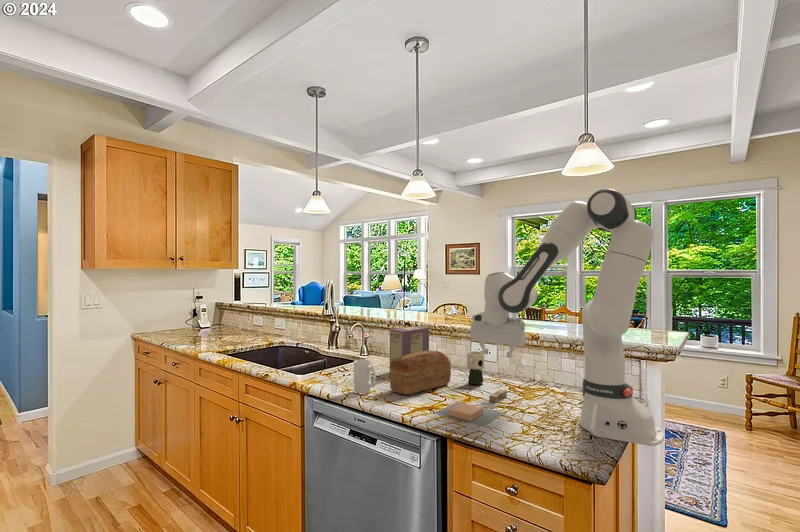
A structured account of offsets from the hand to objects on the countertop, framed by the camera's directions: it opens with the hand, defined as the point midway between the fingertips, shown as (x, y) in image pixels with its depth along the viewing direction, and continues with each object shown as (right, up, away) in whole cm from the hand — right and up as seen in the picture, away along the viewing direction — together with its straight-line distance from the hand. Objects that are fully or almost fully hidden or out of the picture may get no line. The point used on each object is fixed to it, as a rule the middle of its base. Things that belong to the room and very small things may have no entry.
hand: (497, 355), depth 149 cm
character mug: (-4, -17, +23) cm, 29 cm away
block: (-11, -15, -12) cm, 22 cm away
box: (-31, -17, +44) cm, 56 cm away
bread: (-27, -17, +18) cm, 36 cm away
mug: (-48, -17, +11) cm, 52 cm away
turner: (-1, -17, -1) cm, 17 cm away
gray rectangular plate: (-12, -17, -13) cm, 24 cm away
